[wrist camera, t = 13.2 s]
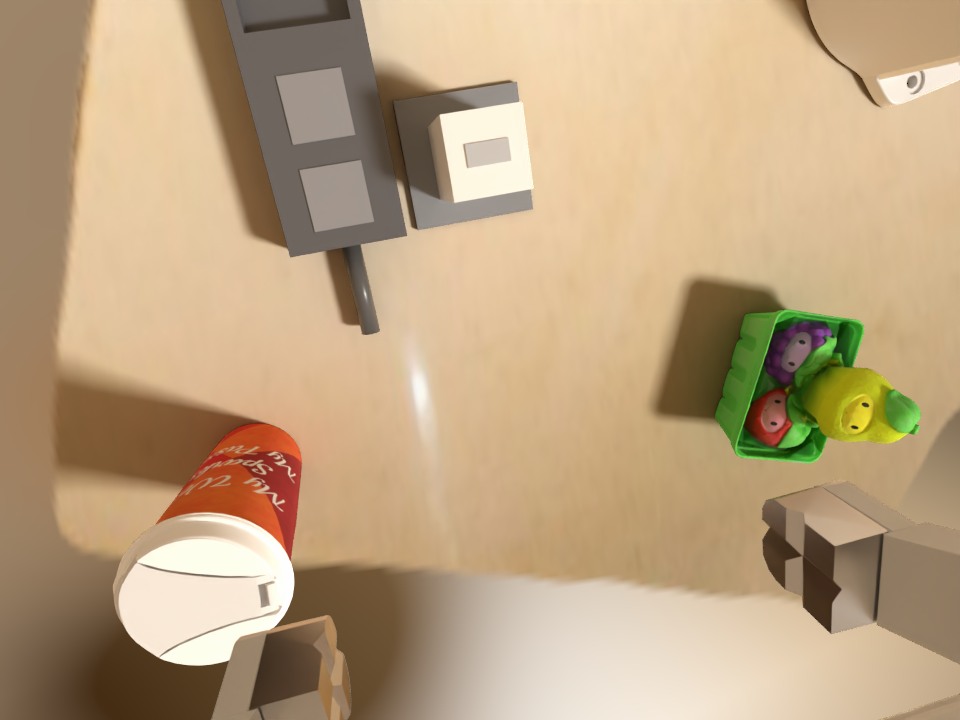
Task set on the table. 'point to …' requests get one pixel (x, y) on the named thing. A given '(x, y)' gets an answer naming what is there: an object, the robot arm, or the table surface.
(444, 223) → the mat
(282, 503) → the coffee cup
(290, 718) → the robot arm
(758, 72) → the table surface
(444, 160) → the block
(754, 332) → the fruit basket
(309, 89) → the power strip
